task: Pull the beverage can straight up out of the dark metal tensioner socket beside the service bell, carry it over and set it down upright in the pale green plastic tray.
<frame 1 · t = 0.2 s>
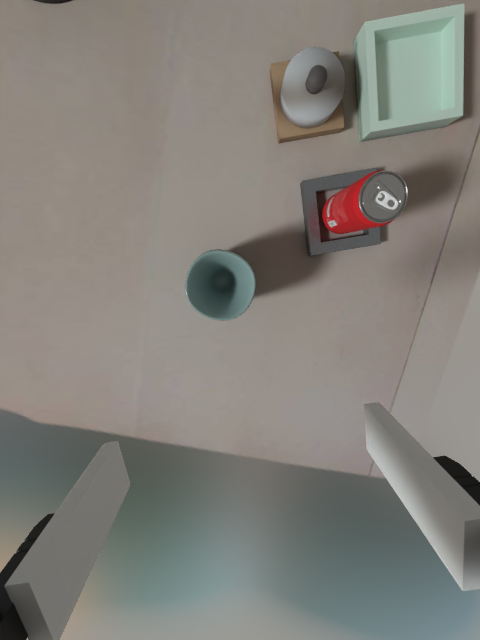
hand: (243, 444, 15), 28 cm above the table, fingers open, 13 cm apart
tensioner socket: (338, 214, 39), on the table
tray: (400, 85, 35), on the table
beverage can: (338, 214, 39), resting in tensioner socket
service bell: (305, 102, 36), on the table
cup: (224, 278, 41), on the table
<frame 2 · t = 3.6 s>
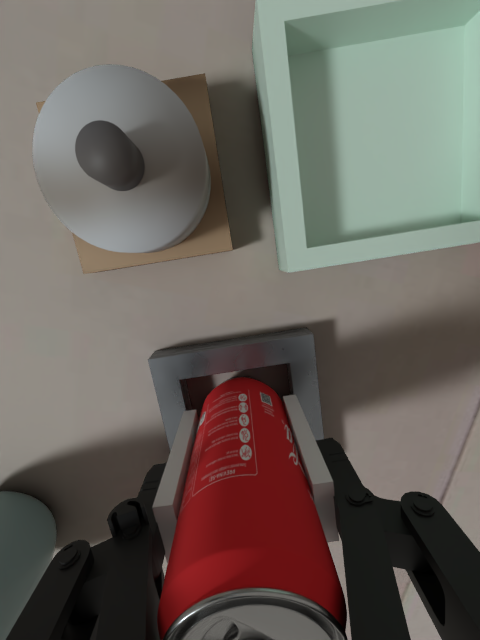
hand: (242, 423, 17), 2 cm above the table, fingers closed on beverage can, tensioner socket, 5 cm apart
tensioner socket: (242, 407, 19), on the table
tray: (367, 151, 15), on the table
beverage can: (242, 406, 19), resting in tensioner socket, touching gripper
service bell: (149, 187, 15), on the table
cup: (22, 515, 20), on the table
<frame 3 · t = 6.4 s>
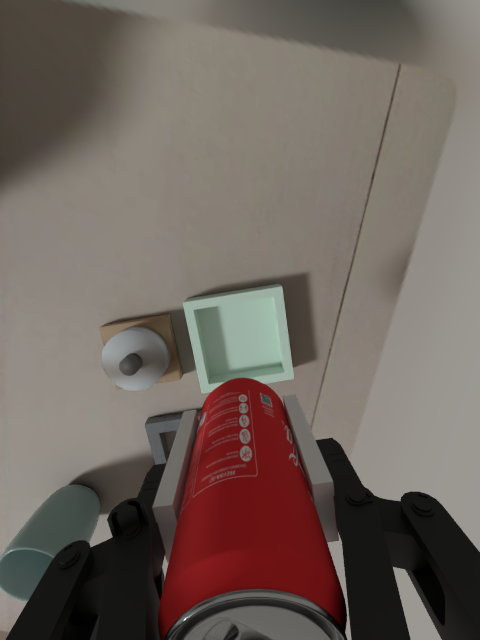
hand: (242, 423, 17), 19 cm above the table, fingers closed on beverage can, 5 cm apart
tensioner socket: (190, 443, 38), on the table
tray: (239, 334, 35), on the table
beverage can: (242, 406, 19), point 17 cm above the table, touching gripper
service bell: (144, 350, 35), on the table
cup: (81, 497, 40), on the table
when the fingers open (5 cm above the table, at t = 9.3 s): beverage can drops 2 cm, resting on tray.
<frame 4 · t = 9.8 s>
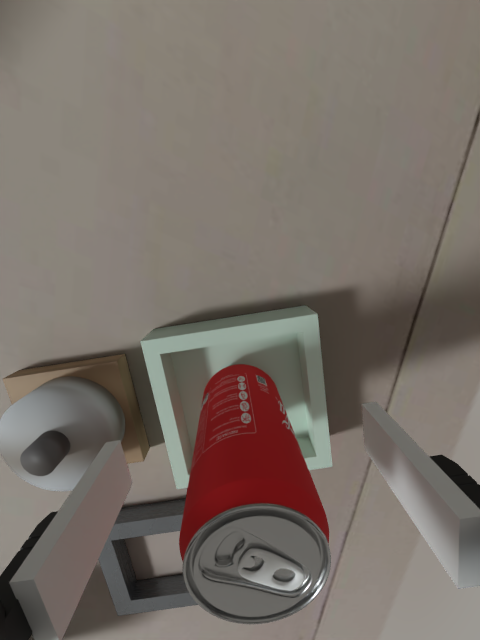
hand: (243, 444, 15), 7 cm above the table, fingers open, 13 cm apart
tensioner socket: (164, 547, 25), on the table
tray: (241, 387, 21), on the table
beverage can: (239, 390, 21), point 1 cm above the table, touching tray
service bell: (86, 410, 22), on the table
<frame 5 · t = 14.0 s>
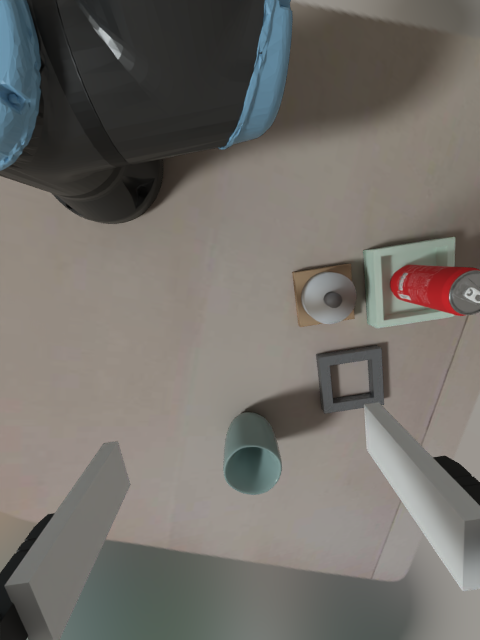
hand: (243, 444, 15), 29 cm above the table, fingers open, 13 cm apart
tensioner socket: (348, 377, 45), on the table
tray: (402, 282, 42), on the table
beverage can: (403, 282, 41), point 1 cm above the table, touching tray
service bell: (322, 294, 42), on the table
cup: (249, 425, 47), on the table
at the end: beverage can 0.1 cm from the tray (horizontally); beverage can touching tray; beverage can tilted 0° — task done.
